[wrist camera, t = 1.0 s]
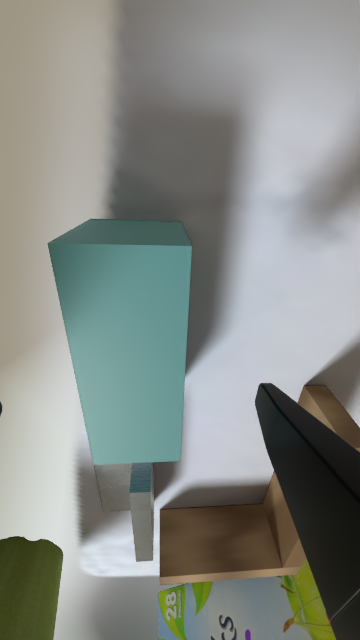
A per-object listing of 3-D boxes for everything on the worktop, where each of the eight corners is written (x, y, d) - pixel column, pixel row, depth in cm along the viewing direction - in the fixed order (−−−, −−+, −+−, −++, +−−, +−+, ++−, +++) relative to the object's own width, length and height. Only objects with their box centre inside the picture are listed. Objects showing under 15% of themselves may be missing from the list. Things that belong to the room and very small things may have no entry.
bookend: (152, 431, 18) (150, 491, 15) (154, 500, 22) (152, 560, 19) (91, 433, 18) (74, 495, 14) (105, 503, 22) (94, 564, 19)
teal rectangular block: (180, 220, 12) (192, 246, 7) (175, 386, 17) (180, 461, 12) (90, 218, 11) (47, 242, 7) (111, 387, 16) (93, 464, 12)
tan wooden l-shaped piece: (325, 385, 17) (375, 447, 13) (274, 511, 25) (296, 574, 21) (159, 388, 16) (159, 455, 12) (159, 518, 24) (159, 585, 20)
